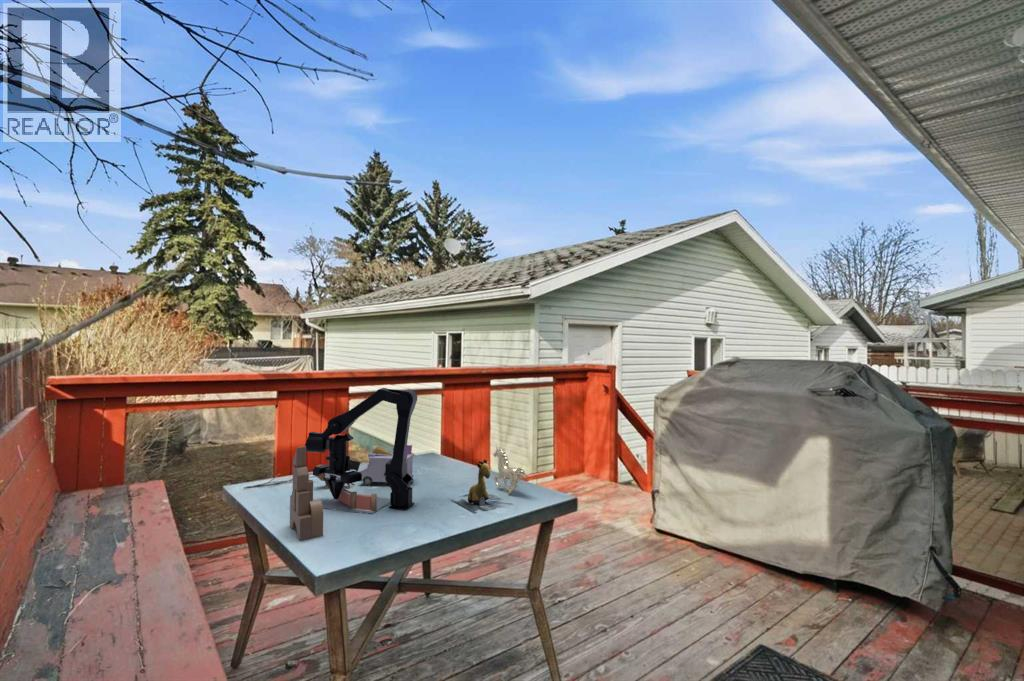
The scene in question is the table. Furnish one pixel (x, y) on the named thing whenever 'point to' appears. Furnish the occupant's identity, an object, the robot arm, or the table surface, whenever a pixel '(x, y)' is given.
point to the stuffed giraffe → (480, 492)
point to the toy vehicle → (382, 465)
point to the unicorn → (507, 471)
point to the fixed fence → (363, 501)
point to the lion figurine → (325, 482)
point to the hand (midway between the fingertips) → (336, 498)
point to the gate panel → (345, 497)
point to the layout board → (342, 506)
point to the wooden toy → (304, 501)
